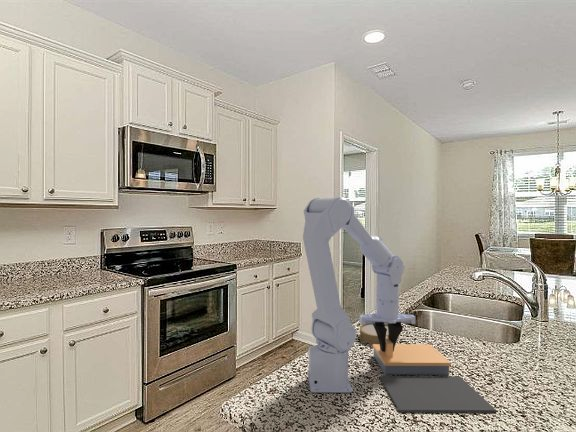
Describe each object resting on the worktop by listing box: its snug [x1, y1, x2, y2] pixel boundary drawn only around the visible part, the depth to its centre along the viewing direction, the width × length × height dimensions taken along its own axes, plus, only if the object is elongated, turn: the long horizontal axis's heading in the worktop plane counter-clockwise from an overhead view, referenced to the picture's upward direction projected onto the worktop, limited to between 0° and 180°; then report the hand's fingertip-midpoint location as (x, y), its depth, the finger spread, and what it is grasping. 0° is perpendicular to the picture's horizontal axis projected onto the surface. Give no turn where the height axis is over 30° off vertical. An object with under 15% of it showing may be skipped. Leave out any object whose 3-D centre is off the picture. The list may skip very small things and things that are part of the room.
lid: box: [371, 336, 452, 367], centre depth 89 cm, size 17×12×5 cm
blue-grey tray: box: [373, 349, 450, 376], centre depth 89 cm, size 16×11×2 cm
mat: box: [378, 375, 497, 414], centre depth 75 cm, size 20×14×1 cm
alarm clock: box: [358, 323, 389, 345], centre depth 109 cm, size 11×5×15 cm
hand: (386, 350), depth 89 cm, fingers closed on lid
